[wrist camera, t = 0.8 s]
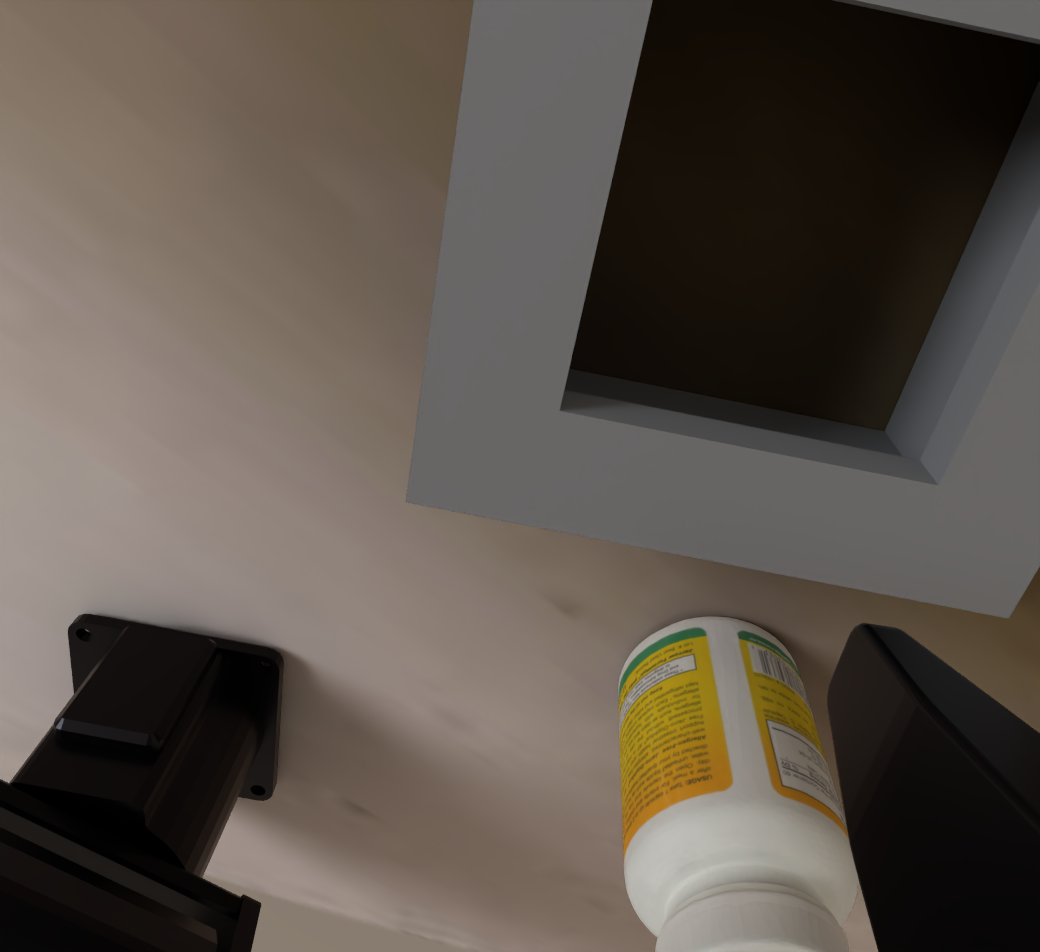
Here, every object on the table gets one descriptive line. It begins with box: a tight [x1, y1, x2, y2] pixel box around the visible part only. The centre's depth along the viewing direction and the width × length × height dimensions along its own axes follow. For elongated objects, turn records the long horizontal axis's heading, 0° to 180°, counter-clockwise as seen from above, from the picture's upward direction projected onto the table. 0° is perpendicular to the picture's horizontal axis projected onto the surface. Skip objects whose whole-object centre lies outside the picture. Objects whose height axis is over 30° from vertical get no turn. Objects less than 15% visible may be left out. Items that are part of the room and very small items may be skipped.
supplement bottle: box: [618, 616, 858, 952], centre depth 21 cm, size 5×5×10 cm
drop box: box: [406, 0, 1040, 619], centre depth 16 cm, size 12×12×6 cm
